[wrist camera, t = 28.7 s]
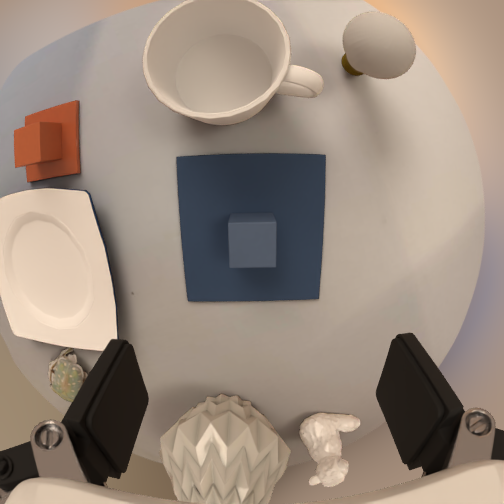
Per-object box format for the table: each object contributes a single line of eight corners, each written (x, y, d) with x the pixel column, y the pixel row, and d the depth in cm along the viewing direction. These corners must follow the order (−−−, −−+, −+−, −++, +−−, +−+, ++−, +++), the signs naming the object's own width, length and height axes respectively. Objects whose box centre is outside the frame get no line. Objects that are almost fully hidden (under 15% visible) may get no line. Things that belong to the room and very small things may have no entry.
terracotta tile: (27, 116, 24) (24, 116, 24) (79, 100, 24) (76, 100, 24) (30, 181, 27) (27, 182, 26) (80, 172, 27) (78, 173, 26)
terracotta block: (35, 130, 24) (13, 130, 21) (61, 122, 24) (39, 121, 21) (36, 164, 26) (15, 167, 22) (62, 158, 26) (40, 161, 22)
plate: (21, 330, 34) (12, 339, 31) (-11, 196, 27) (-24, 200, 24) (134, 346, 34) (127, 359, 31) (107, 177, 27) (95, 180, 25)
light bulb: (380, 51, 23) (430, 20, 14) (374, 100, 25) (427, 83, 15) (327, 33, 23) (360, -11, 13) (318, 83, 24) (352, 52, 15)
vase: (304, 419, 39) (323, 527, 21) (216, 451, 41) (209, 545, 24) (241, 352, 34) (237, 493, 17) (147, 396, 37) (111, 505, 19)
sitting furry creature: (313, 445, 41) (324, 503, 30) (279, 428, 39) (285, 493, 28) (359, 417, 39) (380, 476, 28) (328, 396, 37) (347, 465, 26)
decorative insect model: (30, 356, 34) (20, 378, 30) (77, 339, 35) (69, 364, 30) (62, 392, 38) (57, 414, 34) (110, 380, 39) (107, 404, 35)
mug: (155, 114, 25) (122, 103, 18) (190, 21, 22) (172, -16, 14) (289, 152, 27) (306, 152, 19) (322, 57, 24) (346, 27, 16)
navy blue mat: (177, 156, 27) (176, 156, 26) (324, 154, 27) (325, 154, 26) (188, 299, 32) (187, 301, 31) (317, 297, 32) (318, 299, 31)
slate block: (230, 213, 28) (227, 222, 24) (273, 212, 28) (276, 222, 24) (232, 253, 30) (229, 268, 26) (272, 252, 30) (276, 267, 26)
